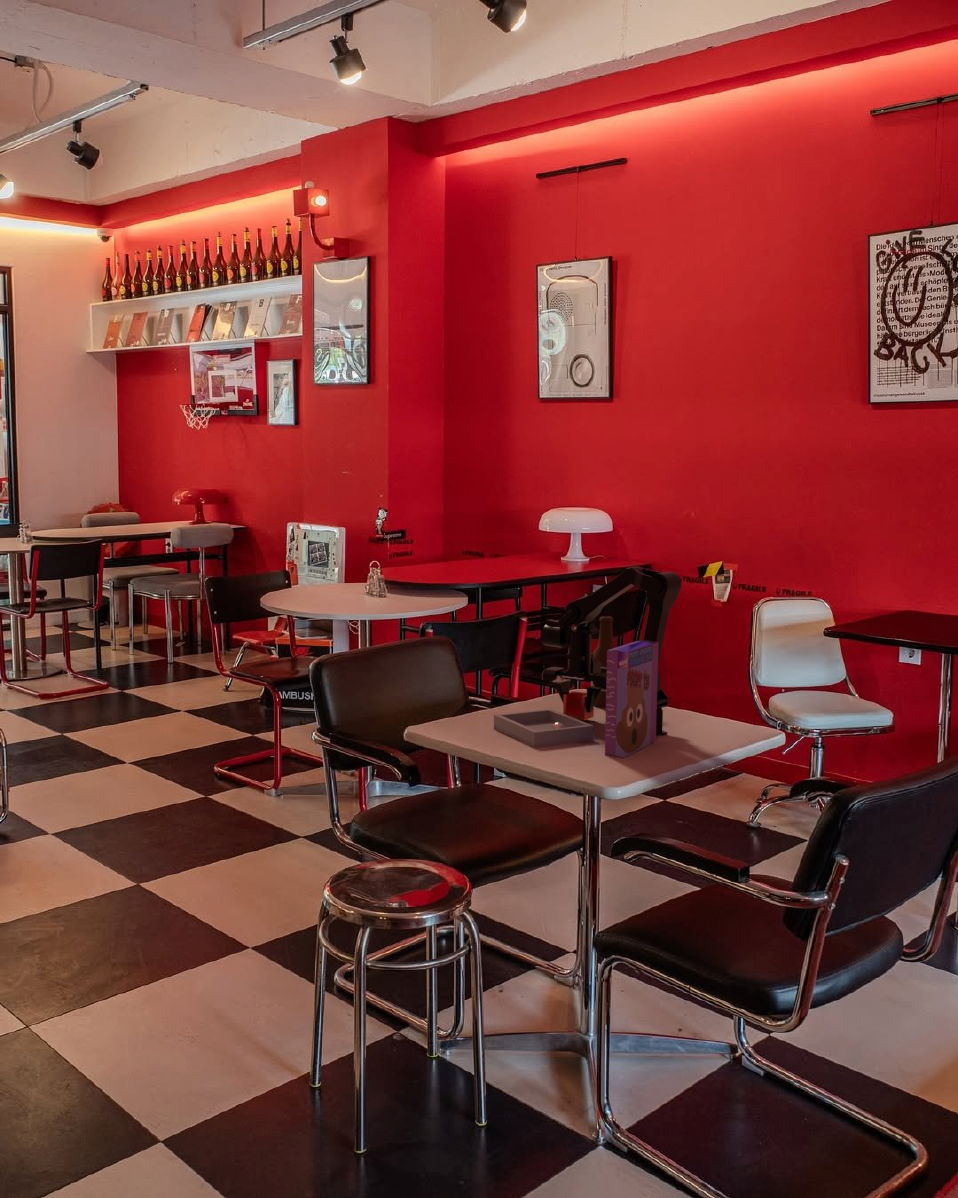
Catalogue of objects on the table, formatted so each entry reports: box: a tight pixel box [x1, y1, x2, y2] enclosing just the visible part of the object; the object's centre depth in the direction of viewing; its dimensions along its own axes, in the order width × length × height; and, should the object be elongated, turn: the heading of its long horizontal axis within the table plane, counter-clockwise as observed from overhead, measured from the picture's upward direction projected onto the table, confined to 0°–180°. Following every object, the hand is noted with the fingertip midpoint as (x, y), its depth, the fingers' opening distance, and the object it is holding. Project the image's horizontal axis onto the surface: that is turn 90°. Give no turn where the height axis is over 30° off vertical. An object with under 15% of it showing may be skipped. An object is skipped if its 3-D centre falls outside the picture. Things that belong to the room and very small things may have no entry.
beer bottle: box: [589, 615, 615, 709], centre depth 303 cm, size 8×8×24 cm
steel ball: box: [552, 722, 565, 729], centre depth 267 cm, size 3×3×3 cm
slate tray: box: [493, 708, 595, 748], centre depth 270 cm, size 20×16×4 cm
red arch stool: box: [562, 690, 595, 721], centre depth 285 cm, size 6×5×6 cm
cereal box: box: [604, 639, 659, 759], centre depth 256 cm, size 17×5×24 cm, turn 148°
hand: (578, 710), depth 285 cm, fingers open, 6 cm apart
